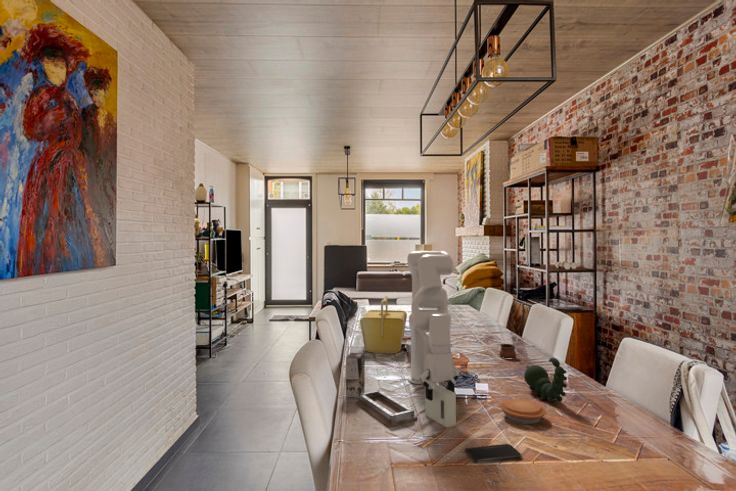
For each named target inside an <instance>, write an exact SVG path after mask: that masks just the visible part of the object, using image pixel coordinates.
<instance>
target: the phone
mask: <svg viewBox="0 0 736 491" xmlns="http://www.w3.org/2000/svg"><path fill="white" fill-rule="evenodd" d="M464 453H465V455H466V456H468V458H469V459H470V460H471V461H472V462H473V463H474V464H489V463H497V462H498V463H500V462H507V461H508V462H509V461H515V460H517V461H518V460H522V459H523V454H522V453H521V452H519V451H518V450H517V449H516V448H515V447H514V446H513V445H511V444H509V443H504V444H502V443H501V444H495V445H494V444H493V445H483V446H473V447H466V448H464Z"/></svg>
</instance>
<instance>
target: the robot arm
mask: <svg viewBox="0 0 736 491" xmlns="http://www.w3.org/2000/svg"><path fill="white" fill-rule="evenodd" d="M406 260H407V261H406V262H407V266H408V267H407V268H408V269H409V272H410V274H411V285H412V286H411V287H412V288H411V299H412V300H411V305H410V306H411V307H410V308H411V311H410V312H411V313H410V314H409V315H408V323H409V324H408V325H409V332H410V374H409V375H408V376H407V381H408V382H409V383H412V384H415V385H422V386H423V387H424V396H425V395H426V399H428V400H430V401H432V400H433V389H431V388H432V386H433V384H437V383H443V382H447V381H448V382H447V384H446V386H447V387H446V389H447V390H450V391H452V392H454V393H455V385H456V384H457V381H458V380H459V376H460V372H461V370H459V369H458V368H456V367H455V365H454V364H455V363H454V356H453V352H452V350H451V349H452V348H453V344H452V343H451V341H452V340H451V338H452V337H451V330H452V329H451V327H452V326H451V325H452V316H451V314H450V313H449V310H448V309H449V307H448V306H449V303H448V302H449V300H448V299H449V298H448V293H447V290H446V289H445V288H444V287H443V284H442V279H441V278H442V277H441V276H448V275H450V276H451V275H452V273H453V271H454V260H453V257H452V256H451V255H450V254H449V253H448V252H447V251H444V250H416V251H411V252H409V253H408V254H407V259H406ZM427 333H428V334H427Z"/></svg>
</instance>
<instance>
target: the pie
mask: <svg viewBox="0 0 736 491" xmlns="http://www.w3.org/2000/svg"><path fill="white" fill-rule="evenodd" d="M499 404H500V405H499V407H500V409H501V411H502V412H503V414H504V415H505V417H506V418H507V419H508V420H509V421H511V422H513V423H517V424H522V425H534V424H538V423H539V422H540V421H541V419H542V417H543V416H545V415H546V414H547V409H546V408H545V407H544V406H543V405H541V404H539V403H537V402H536V401H533V400H530V399H529V400H528V399H524V398H523V399H522V398H511V399H507V400H505V401H502V402H501V403H499Z"/></svg>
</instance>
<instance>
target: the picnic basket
mask: <svg viewBox="0 0 736 491" xmlns="http://www.w3.org/2000/svg"><path fill="white" fill-rule="evenodd" d="M388 300H389V298H388V295H385V296H384V298H383V299H382V300H381V302H380V309H369V310H368V311H367V312H366V313H365V314H364V315H363V316H362V318H360V319H359V324H360V330H361V336H362V341H363V346H364V349H365V351H367V352H368V353H372V352H373V353H375V354H380V353H381V354H397V353H399V352H400V351H401V349H402V342H403V339H404V336H405V330H406V325H407V324H406V323H407V317H408V313H407V311H405V310H393V309H392V310H389V309H388V308H389V307H388V304H389V302H388ZM384 303H385V309H384ZM373 353H372V354H373Z"/></svg>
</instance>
